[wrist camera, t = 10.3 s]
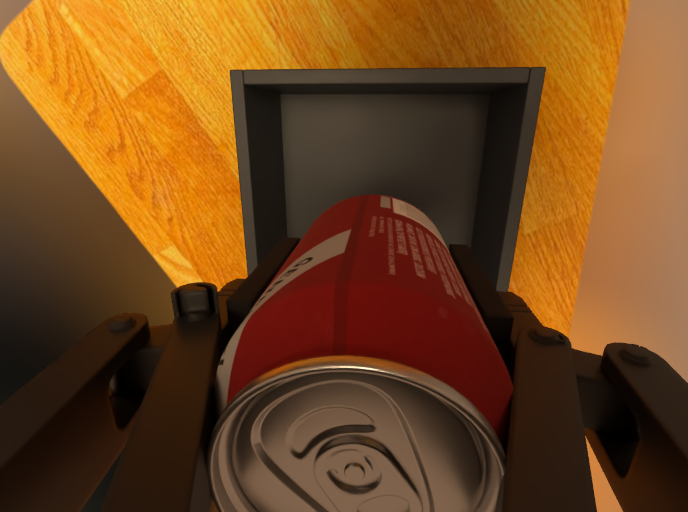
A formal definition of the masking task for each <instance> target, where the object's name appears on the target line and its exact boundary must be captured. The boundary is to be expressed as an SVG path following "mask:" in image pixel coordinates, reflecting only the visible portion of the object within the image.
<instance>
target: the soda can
mask: <svg viewBox="0 0 688 512" xmlns="http://www.w3.org/2000/svg"><path fill="white" fill-rule="evenodd" d="M512 394H513V384H512V381H511V378H510V375H509V372H508V370H507V368H506V366H505V363H504V361H503V359H502V357H501V355H500V353H499V351H498V349H497V347H496V345H495V343H494V341H493V339H492V337H491V335H490V333H489V331H488V329H487V327H486V325H485V323H484V321H483V319H482V317H481V315H480V313H479V311H478V309H477V307H476V305H475V303H474V301H473V299H472V297H471V295H470V293H469V291H468V289H467V287H466V285H465V283H464V281H463V279H462V277H461V275H460V273H459V271H458V269H457V267H456V265H455V263H454V261H453V259H452V257H451V255H450V253H449V251H448V249H447V247H446V245H445V243H444V241H443V239H442V237H441V235H440V233H439V231H438V229H437V228H436V226H435V225H434V223H433V222H432V221H431V220H430V219H429V218H428V216H427V215H426V214H424V213H423V212H422V211H421V210H420V209H418V208H417V207H415V206H414V205H412V204H410V203H408V202H406V201H404V200H402V199H399V198H396V197H393V196H388V195H381V194H364V195H358V196H353V197H350V198H347V199H344V200H342V201H340V202H338V203H336V204H334V205H332V206H331V207H329V208H328V209H327V210H325V211H324V212H323V213H322V214H321V215H320V216H319V217H318V218H317V219H316V220H315V221H314V223H313V224H312V225H311V227H310V228H309V230H308V231H307V232H306V234H305V235H304V237H303V238H302V239H301V241H300V242H299V244H298V245H297V246H296V248H295V249H294V251H293V252H292V253H291V255H290V256H289V258H288V259H287V260H286V262H285V263H284V265H283V266H282V267H281V269H280V270H279V272H278V273H277V274H276V276H275V277H274V279H273V280H272V281H271V283H270V284H269V286H268V287H267V288H266V290H265V291H264V293H263V294H262V295H261V297H260V298H259V300H258V301H257V302H256V304H255V305H254V307H253V308H252V309H251V311H250V312H249V314H248V315H247V316H246V318H245V319H244V321H243V322H242V323H241V325H240V326H239V328H238V329H237V330H236V332H235V333H234V335H233V336H232V338H231V340H230V341H229V343H228V344H227V346H226V348H225V351H224V353H223V355H222V357H221V360H220V363H219V366H218V369H217V373H216V378H215V386H214V401H215V413H216V420H217V423H216V425H215V427H214V429H213V431H212V434H211V437H210V440H209V443H208V448H207V452H206V466H207V472H208V479H209V485H210V491H211V496H212V499H213V501H214V504H215V506H216V508H217V510H218V511H219V512H495V508H496V503H497V497H498V493H499V488H500V484H501V481H502V478H503V474H504V470H505V465H506V455H505V453H504V446H505V440H506V434H507V427H508V421H509V414H510V407H511V401H512Z"/></svg>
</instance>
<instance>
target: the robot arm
mask: <svg viewBox="0 0 688 512" xmlns="http://www.w3.org/2000/svg"><path fill="white" fill-rule="evenodd" d="M299 242H300V238H287V237H284V238H283V239H282V240H281V241H280V242H279V243H278V244H277V245H276V246H275V247H274V249H273V250H272V251H271V252H270V253H269V254H268V255H267V256H266V257H265V258H264V260H263V261H262V262H261V263H260V264H259V265H258V266H257V267H256V268H255V269H254V271H253V272H252V273H251V274H250V275H249V276H248V277H247V278H246V279H235V280H233V281H231V282H229V283H227V284H226V285H225V286H224V287H223V288H222V289H221V291H219V292H217V287H216V286H215V285H214V284H211V283H206V282H198V283H191V284H186V285H183V286H180V287H178V288H176V289H174V290H173V291H172V292H171V298H172V303H173V310H174V316H175V319H174V321H173V324H169V325H161V326H152V327H149V324H148V319H147V316H145V315H144V314H140V313H123V314H122V315H121V314H119V315H116V316H114V317H112V318H109V319H107V320H105V321H104V322H102V323H101V324H99V325H98V326H97V327H96V328H94V329H93V330H92V331H91V332H90V333H88V334H87V335H86V336H85V337H83V338H82V339H81V340H80V341H79V342H77V343H76V344H75V345H74V346H72V347H71V348H70V349H69V350H67V351H66V352H65V353H64V354H63V355H61V356H60V357H59V358H58V359H56V360H55V361H54V362H53V363H52V364H50V365H49V366H48V367H47V368H45V369H44V370H43V371H42V372H40V373H39V374H38V375H37V376H36V377H34V378H33V379H32V380H31V381H29V382H28V383H27V384H26V385H25V386H23V387H22V388H21V389H20V390H18V391H17V392H16V393H15V394H14V395H12V396H11V397H10V398H9V399H7V400H6V401H5V402H4V403H3V404H1V405H0V512H80V511H81V510H82V508H83V507H84V505H85V504H86V503H87V501H88V500H89V498H90V497H91V495H92V494H93V492H94V491H95V489H96V488H97V486H98V485H99V484H100V482H101V481H102V479H103V478H104V476H105V475H106V473H107V472H108V470H109V469H110V467H111V466H112V465H113V463H114V462H115V460H116V459H117V457H118V456H119V454H120V453H121V451H122V450H123V449H124V451H123V453H122V456H121V458H120V461H119V464H118V466H117V469H116V471H115V474H114V477H113V479H112V482H111V484H110V487H109V490H108V492H107V495H106V497H105V500H104V503H103V505H102V508H101V510H100V512H217V508H216V506H215V504H214V501H213V499H212V496H211V491H210V485H209V479H208V472H207V466H206V452H207V448H208V443H209V440H210V437H211V434H212V431H213V429H214V427H215V425H216V423H217V420H216V413H215V401H214V386H215V378H216V373H217V369H218V366H219V363H220V360H221V357H222V355H223V353H224V351H225V348H226V346H227V344H228V343H229V341H230V340H231V338H232V336H233V335H234V333H235V332H236V330H237V329H238V328H239V326H240V325H241V323H242V322H243V321H244V319H245V318H246V316H247V315H248V314H249V312H250V311H251V309H252V308H253V307H254V305H255V304H256V302H257V301H258V300H259V298H260V297H261V295H262V294H263V293H264V291H265V290H266V288H267V287H268V286H269V284H270V283H271V281H272V280H273V279H274V277H275V276H276V274H277V273H278V272H279V270H280V269H281V267H282V266H283V265H284V263H285V262H286V260H287V259H288V258H289V256H290V255H291V253H292V252H293V251H294V249H295V248H296V246H297V245H298V244H299ZM449 253H450V255H451V257H452V259H453V261H454V263H455V265H456V267H457V269H458V271H459V273H460V275H461V277H462V279H463V281H464V283H465V285H466V287H467V289H468V291H469V293H470V295H471V297H472V299H473V301H474V303H475V305H476V307H477V309H478V311H479V313H480V315H481V317H482V319H483V321H484V323H485V325H486V327H487V329H488V331H489V333H490V335H491V337H492V339H493V341H494V343H495V345H496V347H497V349H498V351H499V353H500V355H501V357H502V359H503V361H504V363H505V366H506V368H507V370H508V372H509V375H510V378H511V381H512V384H513V394H512V401H511V407H510V414H509V421H508V427H507V434H506V440H505V446H504V453H505V455H506V465H505V470H504V474H503V478H502V481H501V484H500V488H499V493H498V497H497V503H496V508H495V512H597V509H596V503H595V497H594V490H593V483H592V477H591V471H590V465H589V457H588V451H587V445H586V438H587V439H588V441H589V443H590V445H591V448H592V450H593V452H594V454H595V456H596V458H597V460H598V462H599V464H600V466H601V468H602V470H603V472H604V474H605V476H606V478H607V480H608V482H609V484H610V486H611V488H612V490H613V492H614V494H615V496H616V498H617V500H618V502H619V504H620V506H621V507H622V510H623V512H688V383H687V382H686V381H685V380H684V379H683V378H682V377H681V376H680V375H679V374H678V373H677V372H676V371H675V370H674V369H673V368H672V367H671V366H670V365H669V364H668V363H667V362H666V361H665V360H664V359H663V358H661V357H660V356H658V355H657V354H655V353H653V352H651V351H649V350H648V349H647V348H644V347H641V346H640V347H639V345H635V344H627V343H611V344H607V345H606V347H605V349H604V352H603V356H601V355H596V354H592V353H587V352H582V351H579V350H575V349H572V348H571V342H570V341H569V339H568V338H567V337H566V336H565V335H564V334H562V333H560V332H558V331H556V330H554V329H551V328H548V327H544V326H543V325H542V324H541V323H540V322H539V320H538V319H537V318H536V316H535V315H534V314H533V313H532V311H531V310H530V308H529V307H527V304H526V303H525V302H524V300H523V299H522V298H520V297H519V296H517V295H515V294H514V293H512V292H503V291H496V289H495V288H494V286H493V284H492V283H491V281H490V280H489V278H488V277H487V275H486V274H485V272H484V270H483V269H482V267H481V266H480V264H479V263H478V261H477V260H476V258H475V256H474V255H473V253H472V252H471V250H470V249H469V247H468V246H467V245H461V244H449ZM109 384H110V386H111V388H110V390H109V391H108V387H109ZM585 436H586V438H585ZM124 447H125V448H124Z"/></svg>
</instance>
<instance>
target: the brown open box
mask: <svg viewBox="0 0 688 512" xmlns="http://www.w3.org/2000/svg"><path fill="white" fill-rule="evenodd" d="M545 70H546V67H531V68H529V67H487V68H377V69H267V70H230V79H231V90H232V102H233V113H234V124H235V135H236V147H237V158H238V169H239V180H240V192H241V203H242V214H243V226H244V237H245V248H246V259H247V271H248V276H249V275H250V274H251V273H252V272H253V271H254V269H255V268H256V267H257V266H258V265H259V264H260V263H261V262H262V261H263V260H264V258H265V257H266V256H267V255H268V254H269V253H270V252H271V251H272V250H273V249H274V247H275V246H276V245H277V244H278V243H279V242H280V241H281V240H282V239H283V238H284V237H287V238H300V241H301V239H302V238H303V237H304V235H305V234H306V232H307V231H308V230H309V228H310V227H311V225H312V224H313V223H314V221H315V220H316V219H317V218H318V217H319V216H320V215H321V214H322V213H323V212H324V211H325V210H327V209H328V208H329V207H331V206H332V205H334V204H336V203H338V202H340V201H342V200H344V199H347V198H350V197H353V196H358V195H364V194H381V195H388V196H393V197H396V198H399V199H402V200H404V201H406V202H408V203H410V204H412V205H414V206H415V207H417V208H418V209H420V210H421V211H422V212H423V213H424V214H426V215H427V216H428V218H429V219H430V220H431V221H432V222H433V223H434V225H435V226H436V228H437V229H438V231H439V233H440V235H441V237H442V239H443V241H444V243H445V245H446V247H447V249H448V251H449V244H461V245H467V246H468V247H469V249H470V250H471V252H472V253H473V255H474V256H475V258H476V260H477V261H478V263H479V264H480V266H481V267H482V269H483V270H484V272H485V274H486V275H487V277H488V278H489V280H490V281H491V283H492V284H493V286H494V288H495V289H496V291H503V292H508V288H509V282H510V276H511V270H512V264H513V258H514V252H515V246H516V241H517V235H518V229H519V223H520V217H521V211H522V205H523V199H524V194H525V188H526V182H527V176H528V170H529V164H530V158H531V153H532V147H533V141H534V135H535V129H536V123H537V117H538V111H539V106H540V100H541V94H542V88H543V82H544V76H545Z"/></svg>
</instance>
